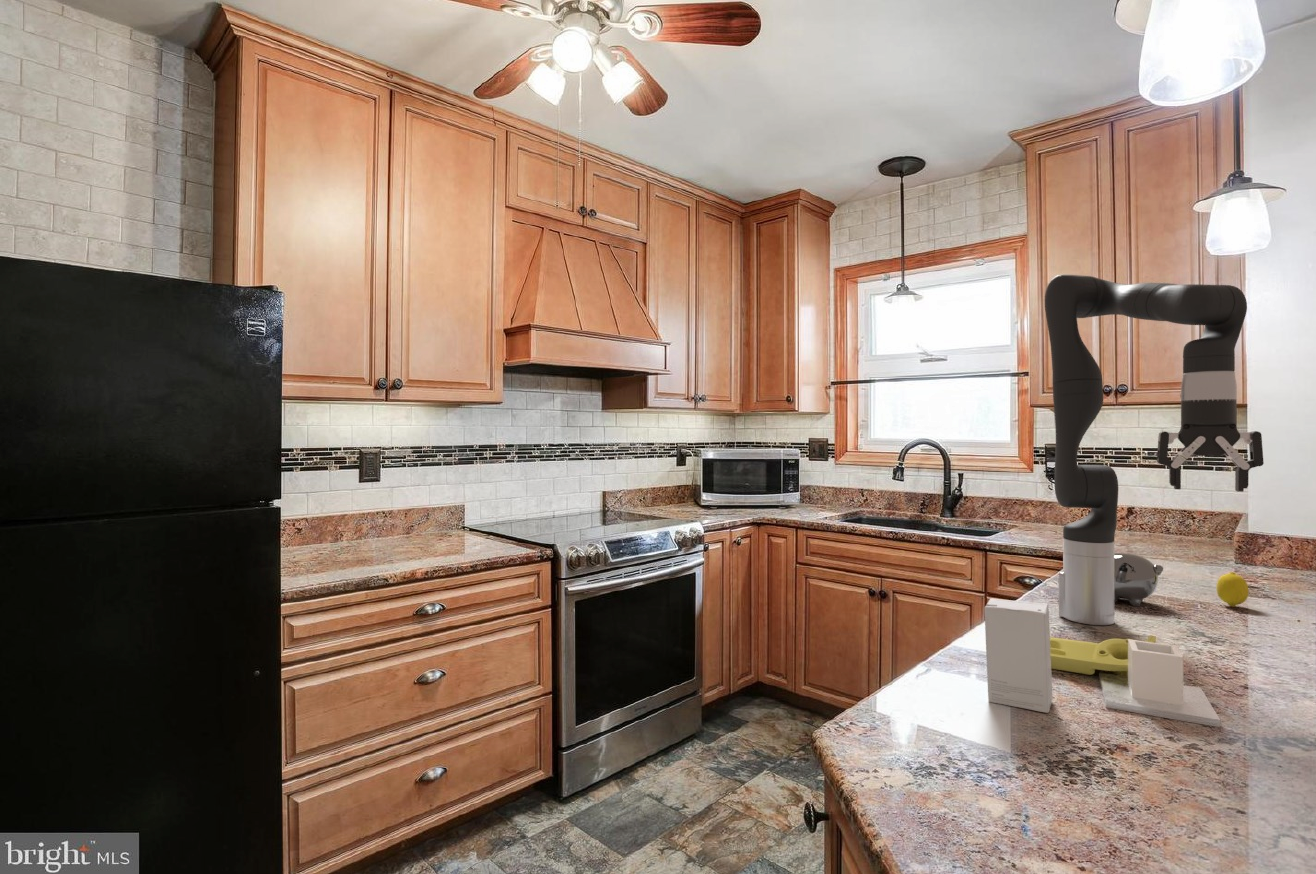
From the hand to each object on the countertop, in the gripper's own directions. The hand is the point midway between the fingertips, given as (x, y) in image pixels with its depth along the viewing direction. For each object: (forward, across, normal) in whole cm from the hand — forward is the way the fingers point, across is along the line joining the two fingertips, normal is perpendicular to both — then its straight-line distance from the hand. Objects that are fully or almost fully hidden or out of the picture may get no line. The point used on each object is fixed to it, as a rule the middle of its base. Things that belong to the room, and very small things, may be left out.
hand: (1207, 490), depth 116 cm
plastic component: (+31, -19, -16) cm, 39 cm away
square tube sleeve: (+29, -10, -26) cm, 41 cm away
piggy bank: (+30, -9, +41) cm, 52 cm away
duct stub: (+30, -10, -26) cm, 41 cm away
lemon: (+30, +12, +47) cm, 57 cm away
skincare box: (+30, -28, -37) cm, 55 cm away
